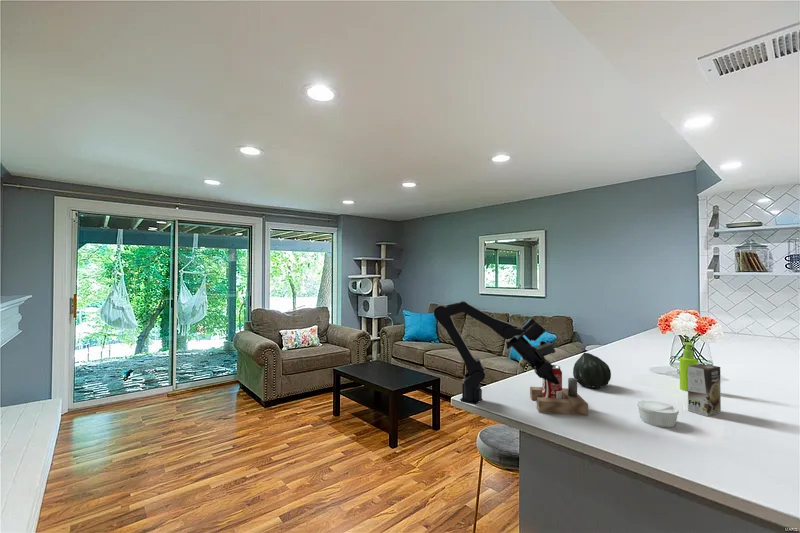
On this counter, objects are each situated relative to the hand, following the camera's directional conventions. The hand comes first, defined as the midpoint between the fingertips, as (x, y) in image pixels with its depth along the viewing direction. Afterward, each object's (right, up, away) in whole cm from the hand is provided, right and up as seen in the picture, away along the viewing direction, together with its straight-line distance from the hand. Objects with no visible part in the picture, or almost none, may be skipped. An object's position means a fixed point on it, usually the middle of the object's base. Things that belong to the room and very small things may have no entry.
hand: (555, 381), depth 138 cm
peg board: (0, -9, 0) cm, 9 cm away
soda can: (-1, -7, 0) cm, 7 cm away
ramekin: (+27, -9, -15) cm, 32 cm away
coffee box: (+50, -9, -6) cm, 51 cm away
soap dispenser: (+64, -10, +19) cm, 68 cm away
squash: (+26, -10, +25) cm, 37 cm away
